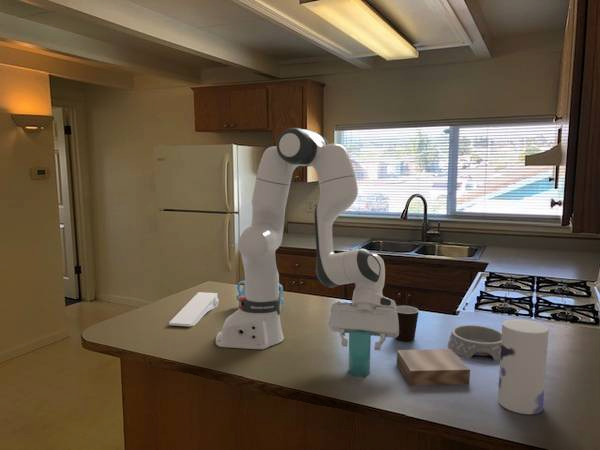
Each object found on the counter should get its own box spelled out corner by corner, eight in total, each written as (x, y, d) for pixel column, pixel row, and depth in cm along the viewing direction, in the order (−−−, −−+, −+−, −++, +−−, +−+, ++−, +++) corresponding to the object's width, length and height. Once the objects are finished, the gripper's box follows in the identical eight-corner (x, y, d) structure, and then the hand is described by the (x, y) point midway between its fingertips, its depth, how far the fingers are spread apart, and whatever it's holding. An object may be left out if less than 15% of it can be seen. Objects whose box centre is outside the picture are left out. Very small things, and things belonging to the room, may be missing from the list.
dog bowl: (515, 362, 140) (516, 345, 139) (450, 358, 143) (451, 341, 143) (502, 341, 156) (502, 326, 156) (444, 337, 160) (445, 322, 159)
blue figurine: (271, 301, 201) (271, 270, 199) (286, 312, 186) (286, 278, 185) (234, 306, 194) (234, 273, 192) (247, 317, 179) (246, 282, 178)
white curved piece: (191, 343, 169) (218, 309, 196) (194, 325, 167) (221, 294, 194) (165, 335, 170) (195, 302, 197) (168, 317, 168) (198, 287, 195)
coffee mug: (418, 344, 153) (419, 314, 152) (391, 342, 155) (392, 312, 154) (416, 331, 165) (417, 304, 163) (391, 330, 166) (392, 302, 165)
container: (490, 395, 119) (494, 318, 117) (527, 393, 120) (533, 317, 118) (511, 416, 110) (516, 333, 107) (551, 414, 110) (558, 332, 108)
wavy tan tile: (410, 385, 125) (410, 370, 124) (396, 363, 139) (397, 350, 138) (469, 384, 125) (470, 369, 125) (450, 362, 139) (450, 349, 139)
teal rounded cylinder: (350, 376, 130) (350, 337, 128) (347, 367, 136) (347, 330, 134) (371, 375, 130) (372, 337, 129) (367, 366, 136) (368, 329, 135)
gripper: (330, 296, 141) (322, 338, 133) (400, 301, 135) (396, 347, 127) (334, 306, 146) (326, 348, 138) (401, 312, 140) (397, 356, 132)
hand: (360, 347), depth 132 cm, fingers open, 8 cm apart
